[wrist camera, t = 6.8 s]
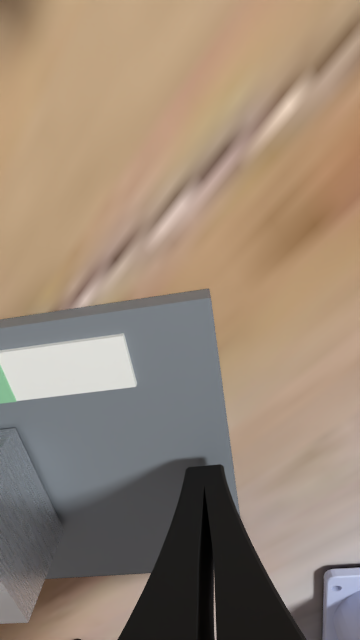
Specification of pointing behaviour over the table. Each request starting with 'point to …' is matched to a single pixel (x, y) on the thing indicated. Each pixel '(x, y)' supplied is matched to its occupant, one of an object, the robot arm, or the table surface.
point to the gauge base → (116, 420)
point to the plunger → (23, 531)
